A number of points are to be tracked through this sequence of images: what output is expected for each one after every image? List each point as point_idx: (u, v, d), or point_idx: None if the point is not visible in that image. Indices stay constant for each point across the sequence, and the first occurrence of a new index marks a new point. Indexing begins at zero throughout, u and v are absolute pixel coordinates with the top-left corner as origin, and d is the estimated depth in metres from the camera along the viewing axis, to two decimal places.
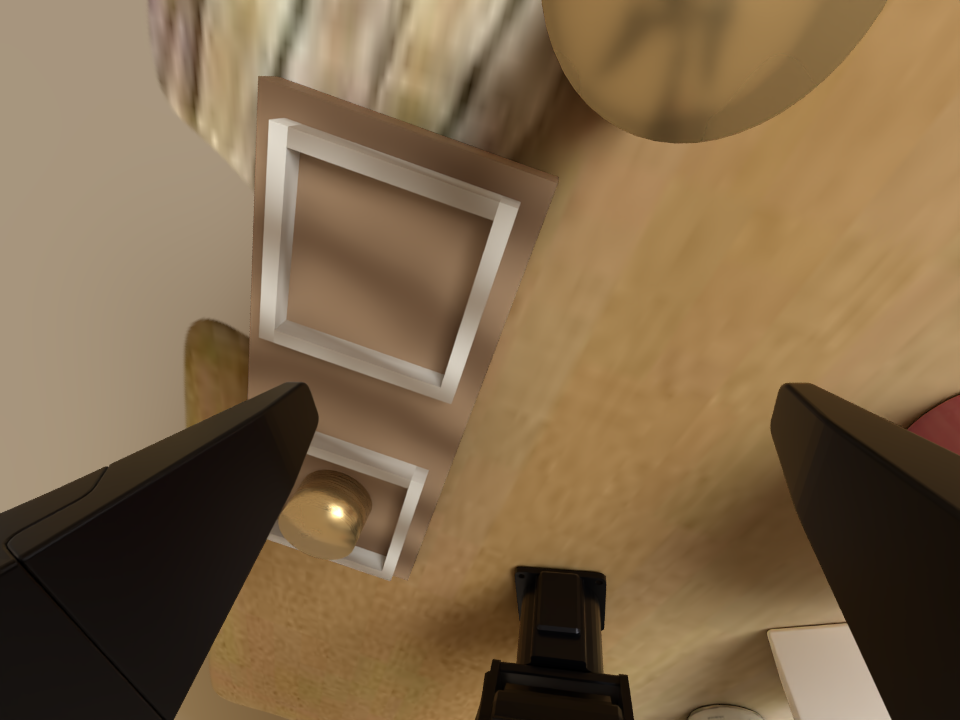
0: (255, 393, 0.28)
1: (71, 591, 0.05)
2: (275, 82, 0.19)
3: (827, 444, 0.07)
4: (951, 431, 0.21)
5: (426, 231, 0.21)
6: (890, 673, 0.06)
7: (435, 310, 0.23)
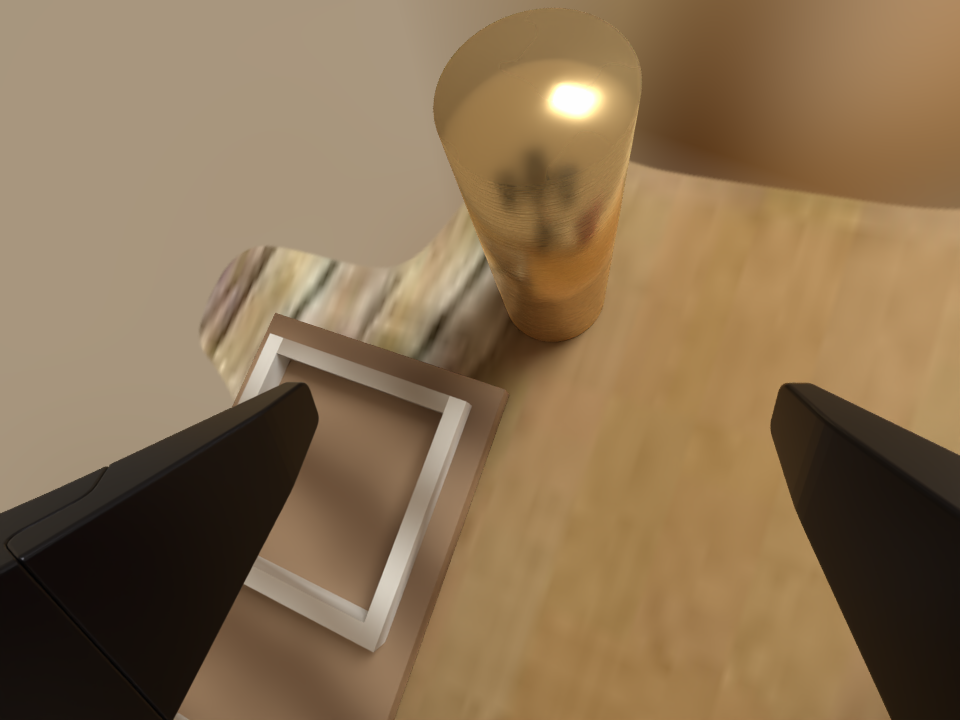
0: None
1: (71, 591, 0.05)
2: (286, 317, 0.25)
3: (827, 444, 0.07)
4: None
5: (382, 432, 0.22)
6: (890, 673, 0.06)
7: (377, 521, 0.21)
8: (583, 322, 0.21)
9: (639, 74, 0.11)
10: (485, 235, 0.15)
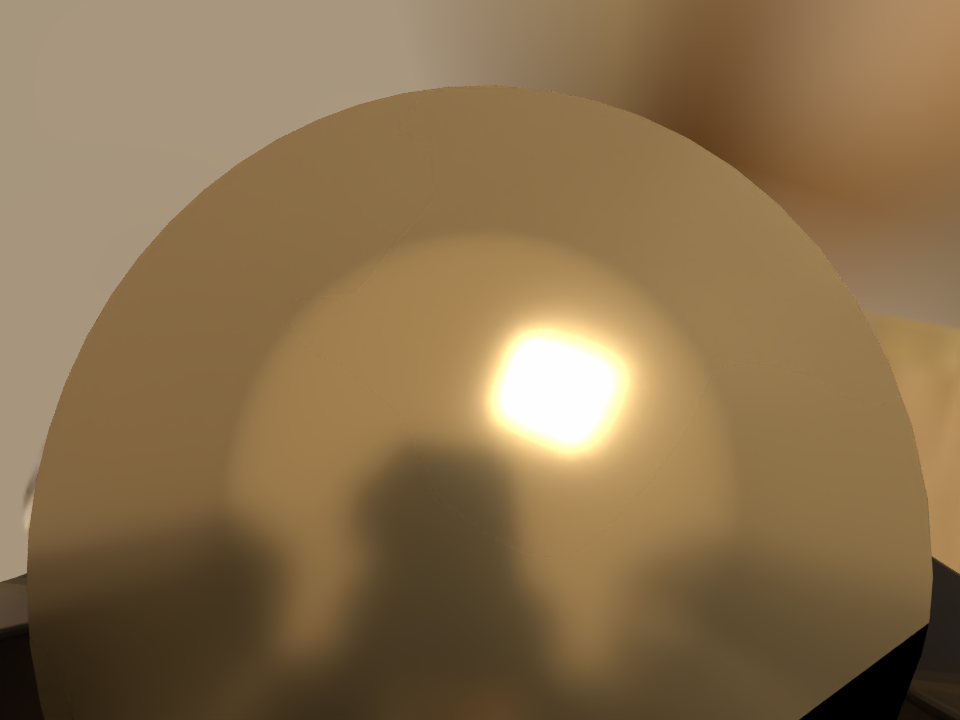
0: None
1: None
2: None
3: None
4: None
5: None
6: None
7: None
8: None
9: (910, 451, 0.02)
10: None
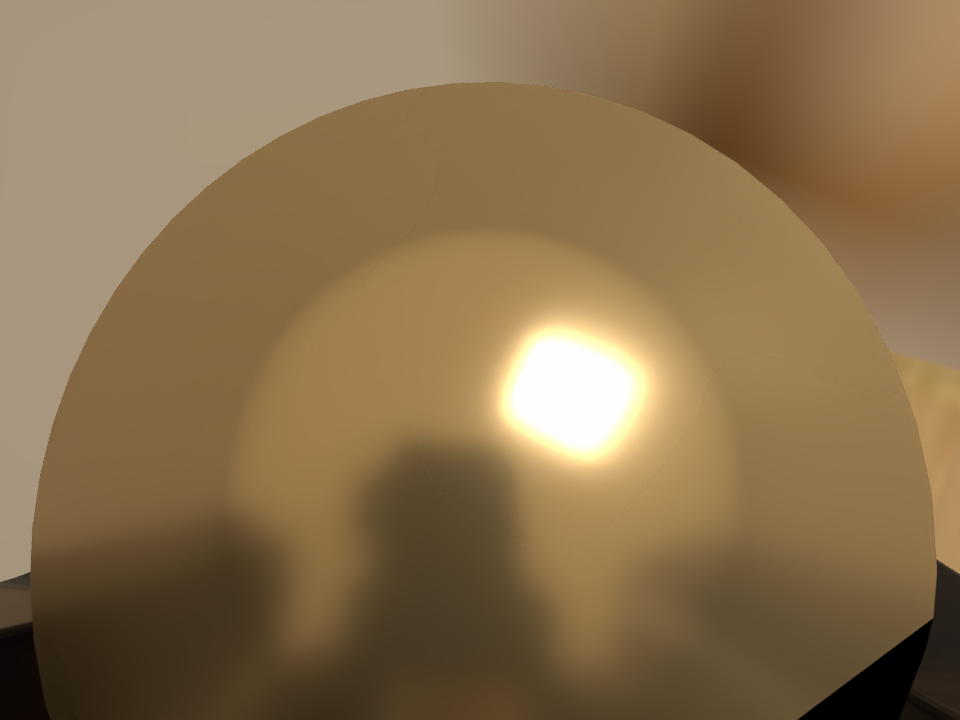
0: None
1: None
2: None
3: None
4: None
5: None
6: None
7: None
8: None
9: (914, 446, 0.02)
10: None
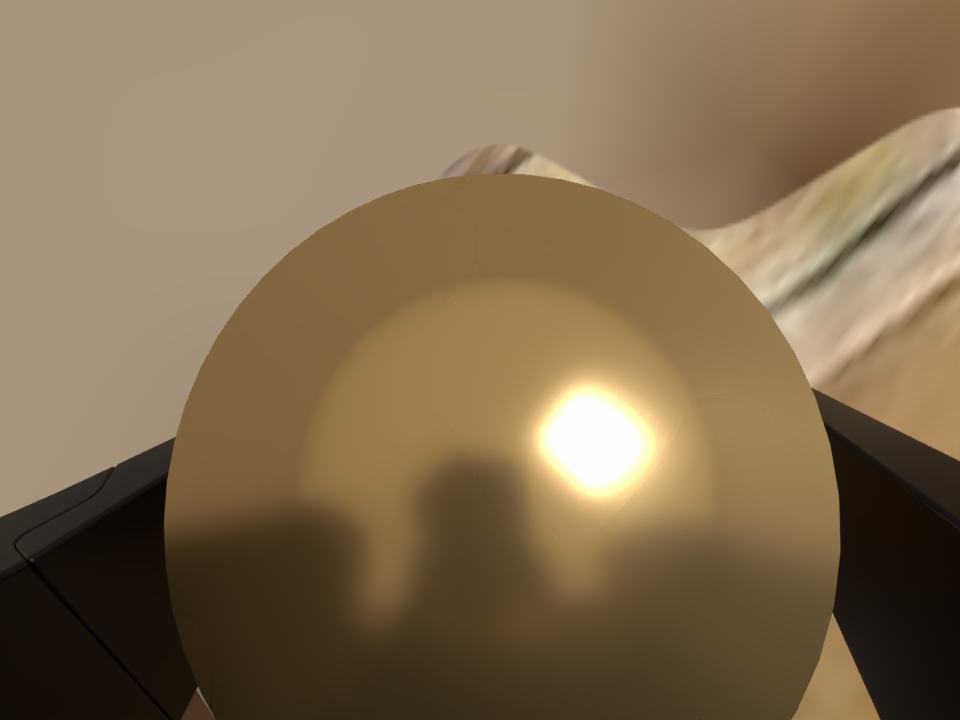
0: None
1: (80, 591, 0.05)
2: None
3: None
4: None
5: None
6: (879, 672, 0.06)
7: None
8: None
9: (827, 462, 0.03)
10: None
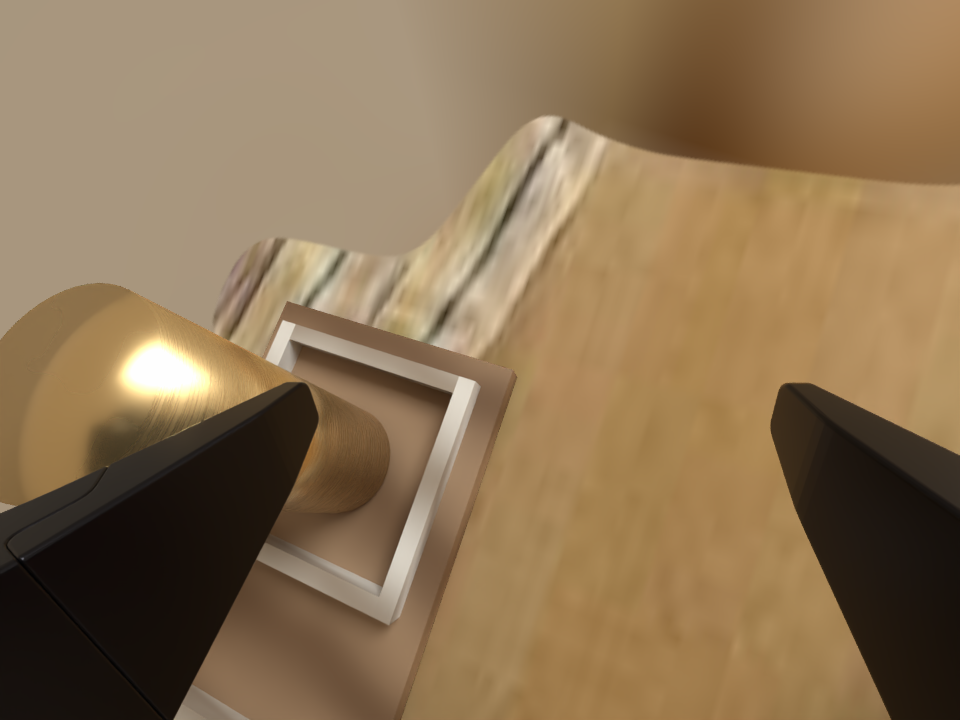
0: None
1: (72, 591, 0.06)
2: (298, 305, 0.25)
3: (827, 444, 0.07)
4: None
5: (393, 414, 0.22)
6: (890, 673, 0.06)
7: (390, 500, 0.21)
8: (364, 486, 0.20)
9: (157, 338, 0.10)
10: None
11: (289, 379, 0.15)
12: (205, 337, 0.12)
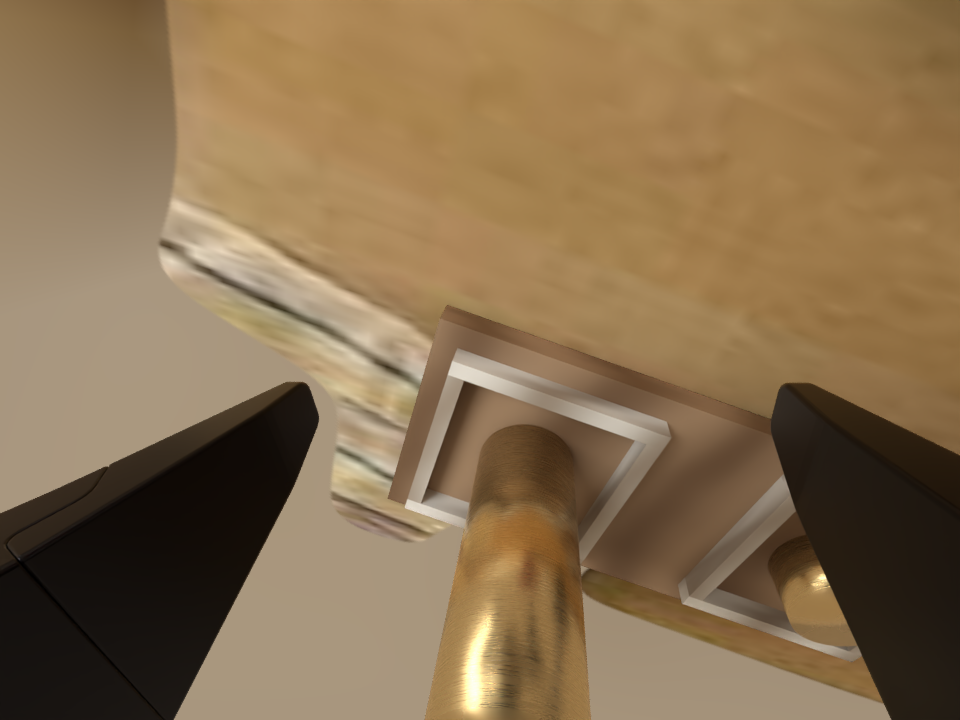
0: (651, 583, 0.28)
1: (71, 590, 0.05)
2: (390, 490, 0.28)
3: (827, 444, 0.07)
4: None
5: (486, 421, 0.24)
6: (890, 673, 0.06)
7: (563, 426, 0.23)
8: (554, 452, 0.22)
9: (469, 710, 0.13)
10: None
11: (474, 554, 0.17)
12: (455, 653, 0.14)
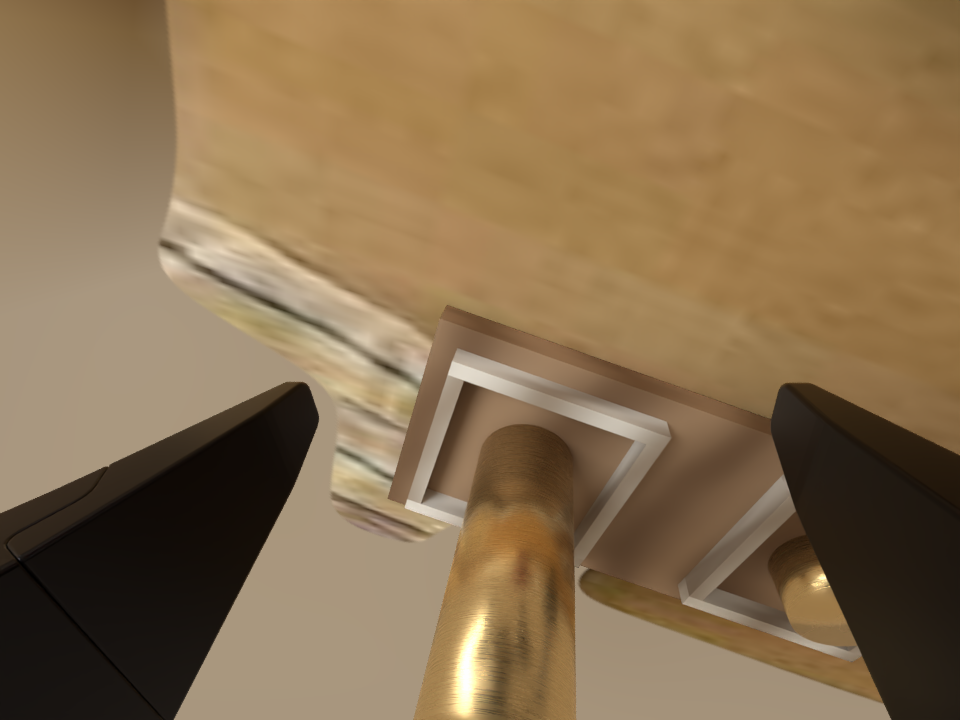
0: (651, 584, 0.28)
1: (72, 591, 0.06)
2: (390, 490, 0.28)
3: (827, 444, 0.07)
4: None
5: (486, 421, 0.24)
6: (890, 673, 0.06)
7: (563, 426, 0.23)
8: (553, 453, 0.22)
9: (455, 714, 0.13)
10: None
11: (468, 556, 0.18)
12: (445, 656, 0.15)
